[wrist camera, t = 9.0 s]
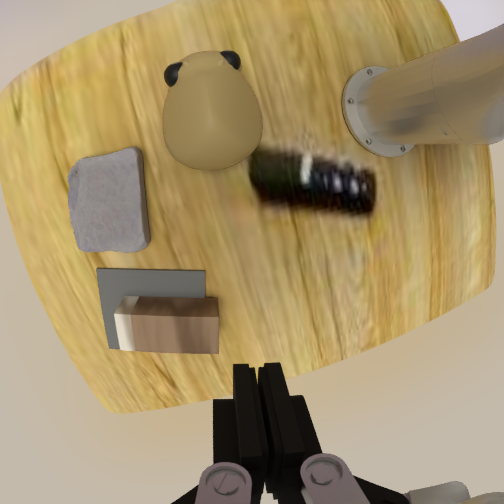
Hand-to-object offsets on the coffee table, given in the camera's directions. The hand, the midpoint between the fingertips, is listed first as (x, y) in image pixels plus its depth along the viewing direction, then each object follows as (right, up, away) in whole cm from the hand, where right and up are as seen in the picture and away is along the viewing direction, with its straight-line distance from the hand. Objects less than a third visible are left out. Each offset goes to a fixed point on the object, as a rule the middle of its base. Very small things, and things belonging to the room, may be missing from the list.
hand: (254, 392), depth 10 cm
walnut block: (-4, -4, +25) cm, 26 cm away
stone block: (-17, +11, +22) cm, 30 cm away
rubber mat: (-13, -3, +26) cm, 30 cm away
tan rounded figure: (-5, +20, +21) cm, 30 cm away
